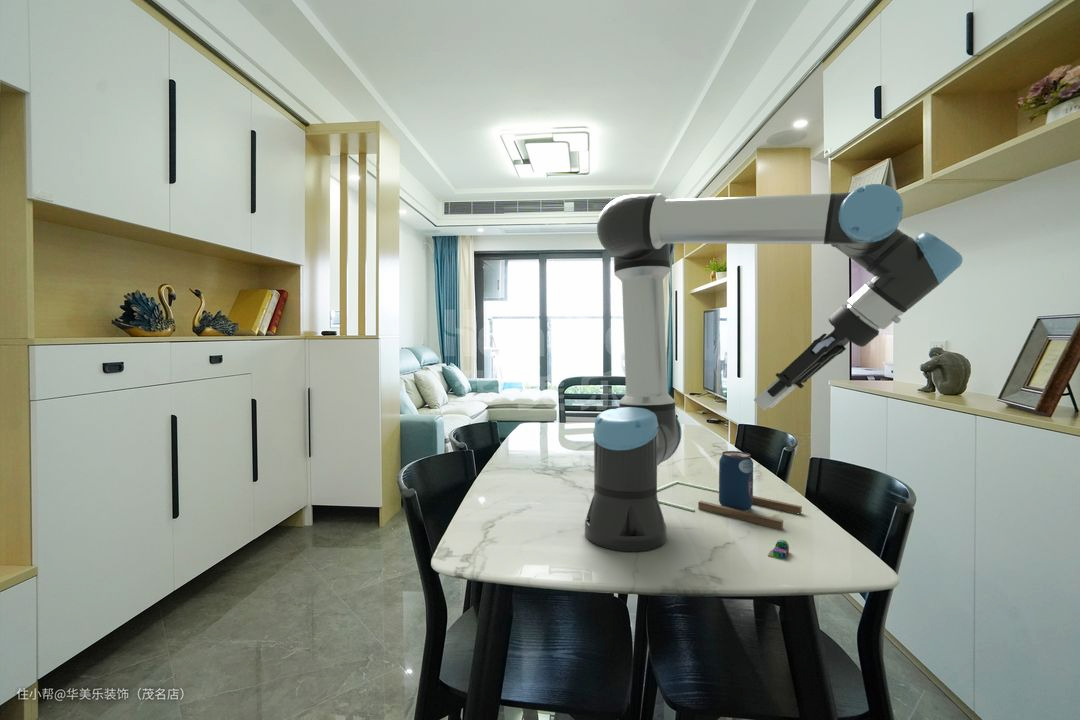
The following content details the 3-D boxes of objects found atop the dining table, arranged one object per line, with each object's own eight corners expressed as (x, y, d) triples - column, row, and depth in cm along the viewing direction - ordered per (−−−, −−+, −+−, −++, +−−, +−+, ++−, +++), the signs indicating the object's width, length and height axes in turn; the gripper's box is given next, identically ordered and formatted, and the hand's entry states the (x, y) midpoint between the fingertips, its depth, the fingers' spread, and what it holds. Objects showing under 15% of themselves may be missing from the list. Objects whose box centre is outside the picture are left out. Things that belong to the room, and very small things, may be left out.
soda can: (758, 513, 102) (758, 457, 102) (725, 513, 102) (725, 457, 102) (745, 502, 109) (745, 450, 109) (714, 502, 109) (714, 450, 109)
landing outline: (693, 511, 103) (693, 509, 103) (638, 497, 113) (638, 495, 113) (727, 493, 116) (728, 491, 116) (676, 481, 125) (676, 480, 125)
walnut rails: (780, 529, 93) (781, 522, 93) (698, 508, 105) (698, 502, 105) (801, 513, 102) (801, 506, 102) (723, 495, 114) (723, 489, 114)
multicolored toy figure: (770, 550, 85) (771, 537, 84) (788, 554, 83) (788, 541, 83) (765, 558, 81) (765, 545, 81) (784, 563, 80) (784, 549, 79)
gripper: (871, 331, 76) (761, 423, 88) (890, 332, 87) (790, 414, 99) (833, 299, 79) (732, 392, 91) (856, 305, 91) (763, 387, 103)
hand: (762, 403), depth 95 cm, fingers open, 3 cm apart
